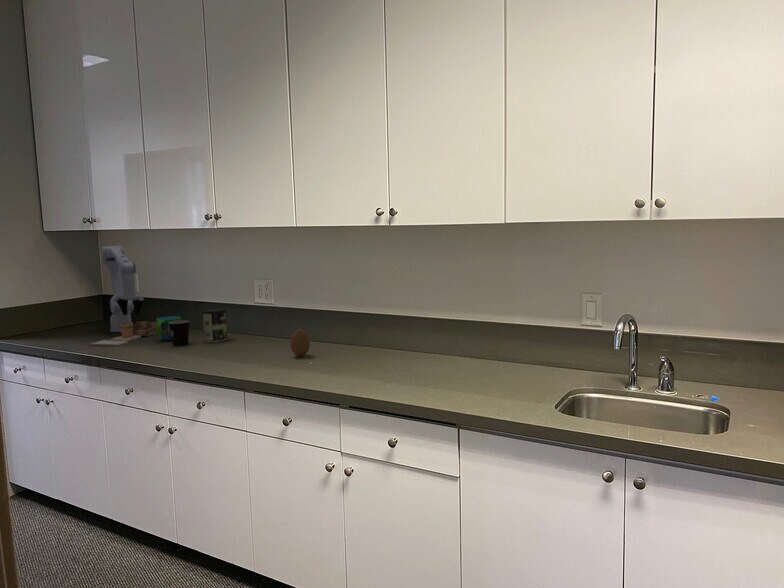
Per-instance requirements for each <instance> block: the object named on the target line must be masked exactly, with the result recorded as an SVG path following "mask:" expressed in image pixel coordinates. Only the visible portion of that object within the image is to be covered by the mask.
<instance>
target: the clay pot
mask: <svg viewBox="0 0 784 588" xmlns="http://www.w3.org/2000/svg"><path fill="white" fill-rule="evenodd" d="M133 325H134V322H131V323H122V324H120V327H121V330H122V338H129V337H133V328H132V326H133Z"/></svg>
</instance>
